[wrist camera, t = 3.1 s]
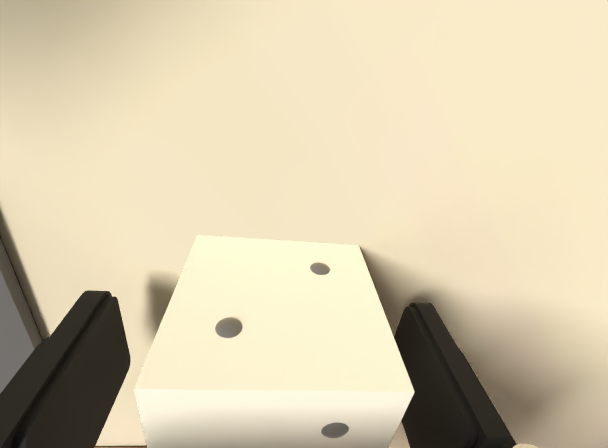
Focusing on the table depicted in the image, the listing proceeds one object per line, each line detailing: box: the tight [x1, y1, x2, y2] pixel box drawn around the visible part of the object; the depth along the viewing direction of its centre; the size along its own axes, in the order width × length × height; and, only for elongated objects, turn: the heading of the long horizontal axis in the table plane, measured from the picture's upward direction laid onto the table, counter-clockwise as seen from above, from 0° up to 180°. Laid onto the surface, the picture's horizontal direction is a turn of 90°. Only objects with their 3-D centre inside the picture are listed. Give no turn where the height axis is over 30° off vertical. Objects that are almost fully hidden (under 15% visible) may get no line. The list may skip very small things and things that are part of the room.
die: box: [134, 235, 415, 448], centre depth 9 cm, size 5×5×5 cm
